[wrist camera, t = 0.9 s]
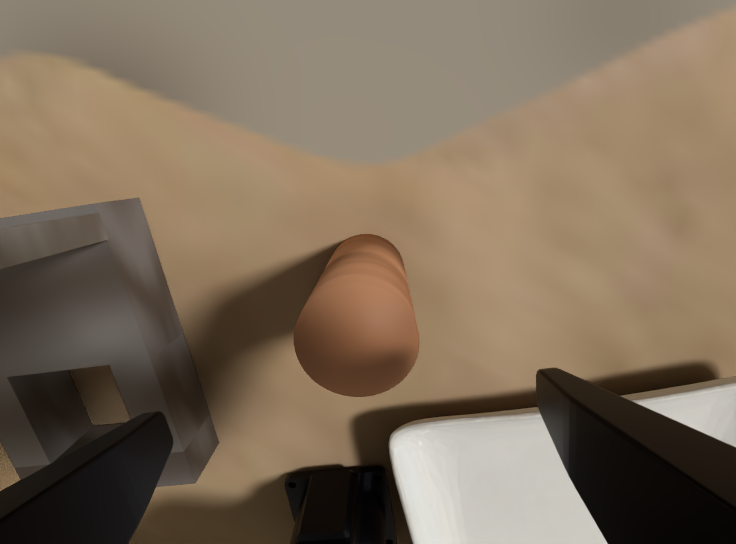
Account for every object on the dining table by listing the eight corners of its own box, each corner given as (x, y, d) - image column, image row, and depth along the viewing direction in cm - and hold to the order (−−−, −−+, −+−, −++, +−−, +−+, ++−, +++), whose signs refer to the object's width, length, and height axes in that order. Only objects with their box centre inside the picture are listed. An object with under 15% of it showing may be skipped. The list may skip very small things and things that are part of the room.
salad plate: (436, 626, 27) (444, 689, 24) (382, 395, 22) (382, 436, 18) (731, 598, 25) (782, 662, 22) (758, 334, 20) (833, 369, 16)
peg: (408, 300, 19) (425, 390, 12) (336, 310, 20) (307, 402, 12) (399, 228, 18) (411, 275, 11) (323, 239, 18) (281, 292, 11)
